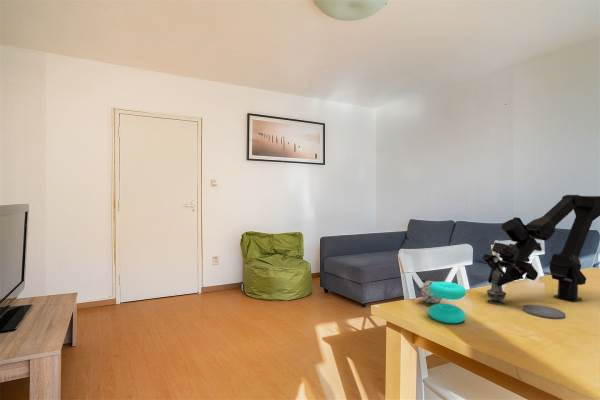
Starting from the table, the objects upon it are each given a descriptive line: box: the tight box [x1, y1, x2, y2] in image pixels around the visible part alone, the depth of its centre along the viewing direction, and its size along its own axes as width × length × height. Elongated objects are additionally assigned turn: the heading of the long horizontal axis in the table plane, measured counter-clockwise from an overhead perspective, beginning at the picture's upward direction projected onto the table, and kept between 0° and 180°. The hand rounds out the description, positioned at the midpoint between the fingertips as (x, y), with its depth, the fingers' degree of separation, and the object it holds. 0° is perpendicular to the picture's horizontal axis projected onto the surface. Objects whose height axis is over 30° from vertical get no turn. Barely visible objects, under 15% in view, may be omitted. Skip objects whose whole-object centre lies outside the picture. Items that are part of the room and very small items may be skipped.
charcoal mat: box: [522, 304, 566, 320], centre depth 108 cm, size 11×11×1 cm
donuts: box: [428, 281, 467, 324], centre depth 101 cm, size 10×10×10 cm
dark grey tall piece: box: [486, 268, 507, 306], centre depth 117 cm, size 6×6×12 cm
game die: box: [417, 278, 443, 304], centre depth 114 cm, size 9×8×10 cm
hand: (493, 283), depth 117 cm, fingers closed on dark grey tall piece, 3 cm apart
